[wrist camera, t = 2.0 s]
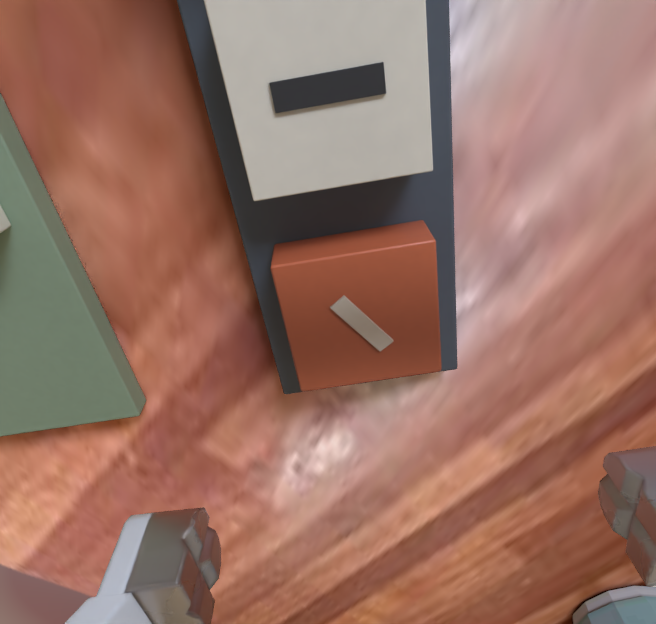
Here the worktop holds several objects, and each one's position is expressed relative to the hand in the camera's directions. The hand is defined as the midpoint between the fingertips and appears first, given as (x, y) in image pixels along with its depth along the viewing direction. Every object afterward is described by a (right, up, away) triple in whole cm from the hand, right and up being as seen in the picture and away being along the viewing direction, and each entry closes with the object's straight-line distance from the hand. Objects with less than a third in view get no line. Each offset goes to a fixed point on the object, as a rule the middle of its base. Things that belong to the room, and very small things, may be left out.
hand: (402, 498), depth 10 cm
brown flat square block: (0, +4, +7) cm, 8 cm away
